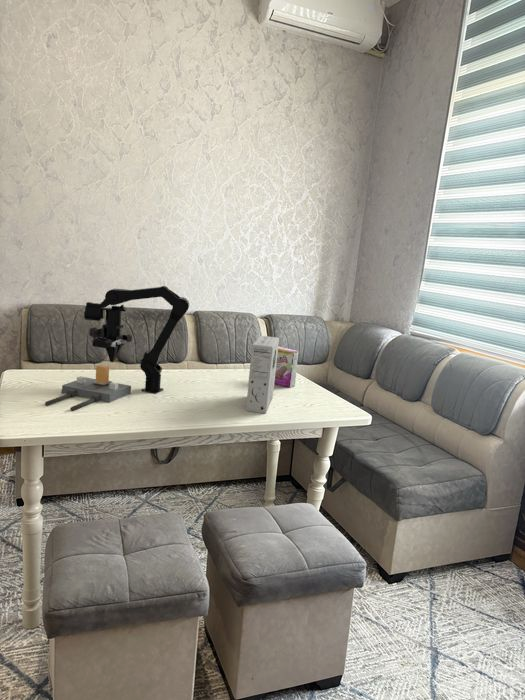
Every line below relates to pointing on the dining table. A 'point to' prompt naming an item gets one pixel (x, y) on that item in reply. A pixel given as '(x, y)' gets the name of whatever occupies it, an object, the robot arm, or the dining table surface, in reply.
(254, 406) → the cereal box
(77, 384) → the panel
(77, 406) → the twin dark prongs
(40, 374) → the dining table surface
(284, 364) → the candy bar box
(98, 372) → the breaker handle
